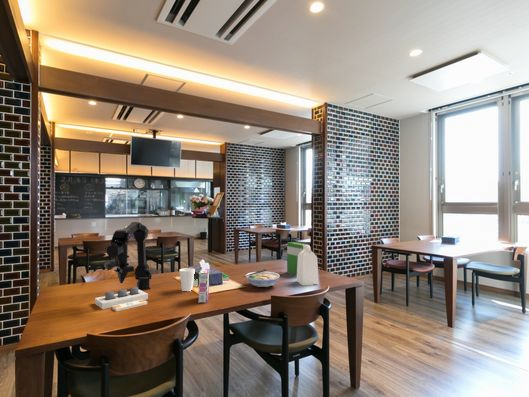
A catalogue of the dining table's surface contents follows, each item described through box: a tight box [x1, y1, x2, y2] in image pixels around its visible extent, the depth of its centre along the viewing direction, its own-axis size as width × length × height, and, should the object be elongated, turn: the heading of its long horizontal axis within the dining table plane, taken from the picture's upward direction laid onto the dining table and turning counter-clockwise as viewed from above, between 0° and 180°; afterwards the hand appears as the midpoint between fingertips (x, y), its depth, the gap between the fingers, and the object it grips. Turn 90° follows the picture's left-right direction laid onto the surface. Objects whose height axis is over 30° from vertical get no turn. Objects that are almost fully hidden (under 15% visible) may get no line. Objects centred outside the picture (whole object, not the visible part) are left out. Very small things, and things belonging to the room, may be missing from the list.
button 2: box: [129, 286, 138, 295], centre depth 173 cm, size 4×4×4 cm
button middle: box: [117, 288, 128, 298], centre depth 168 cm, size 4×4×4 cm
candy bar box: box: [197, 268, 210, 304], centre depth 172 cm, size 11×5×16 cm, turn 5°
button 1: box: [104, 291, 115, 300], centre depth 164 cm, size 4×4×4 cm
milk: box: [296, 244, 319, 286], centre depth 211 cm, size 12×12×26 cm
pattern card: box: [111, 299, 148, 312], centre depth 161 cm, size 16×6×1 cm, turn 135°
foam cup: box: [179, 267, 196, 292], centre depth 190 cm, size 10×9×13 cm
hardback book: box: [286, 241, 310, 276], centre depth 238 cm, size 18×7×24 cm, turn 35°
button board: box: [94, 290, 149, 310], centre depth 168 cm, size 24×12×3 cm, turn 135°
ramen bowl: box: [243, 268, 281, 288], centre depth 201 cm, size 25×23×8 cm
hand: (121, 283), depth 162 cm, fingers closed
